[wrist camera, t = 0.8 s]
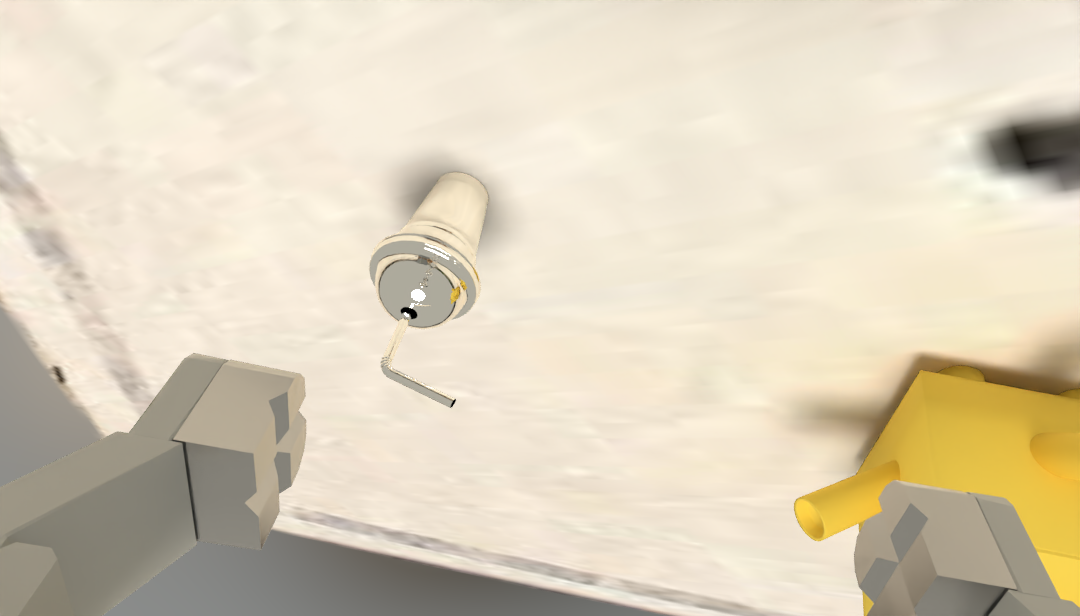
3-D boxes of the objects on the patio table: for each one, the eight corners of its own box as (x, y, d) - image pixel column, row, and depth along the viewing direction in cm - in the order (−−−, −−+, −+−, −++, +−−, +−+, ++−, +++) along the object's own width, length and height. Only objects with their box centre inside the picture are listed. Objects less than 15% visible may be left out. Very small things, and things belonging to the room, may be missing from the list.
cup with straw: (450, 132, 63) (356, 320, 49) (537, 204, 66) (471, 398, 53) (393, 188, 68) (294, 371, 55) (476, 252, 71) (402, 439, 58)
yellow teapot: (1340, 346, 59) (1499, 613, 46) (1115, 535, 81) (1178, 754, 68) (851, 262, 63) (865, 485, 50) (761, 464, 85) (754, 657, 72)
